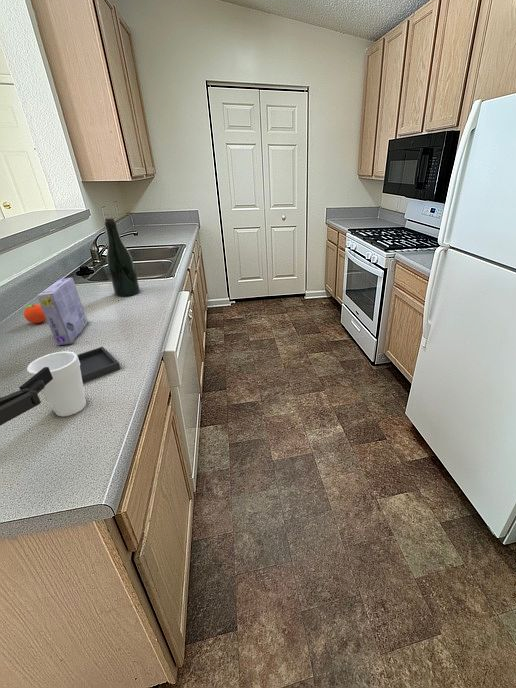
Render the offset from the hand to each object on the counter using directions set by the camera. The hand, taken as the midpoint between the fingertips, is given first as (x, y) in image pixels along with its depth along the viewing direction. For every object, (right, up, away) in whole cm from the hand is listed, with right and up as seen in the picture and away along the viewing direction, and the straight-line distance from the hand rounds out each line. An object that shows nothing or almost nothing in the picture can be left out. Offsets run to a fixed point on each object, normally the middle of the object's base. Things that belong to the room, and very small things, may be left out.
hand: (13, 373), depth 64 cm
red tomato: (-43, +11, +60) cm, 75 cm away
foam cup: (0, -11, +16) cm, 19 cm away
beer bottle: (-24, +25, +88) cm, 95 cm away
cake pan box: (-24, +7, +52) cm, 58 cm away
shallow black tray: (-6, -3, +31) cm, 32 cm away
